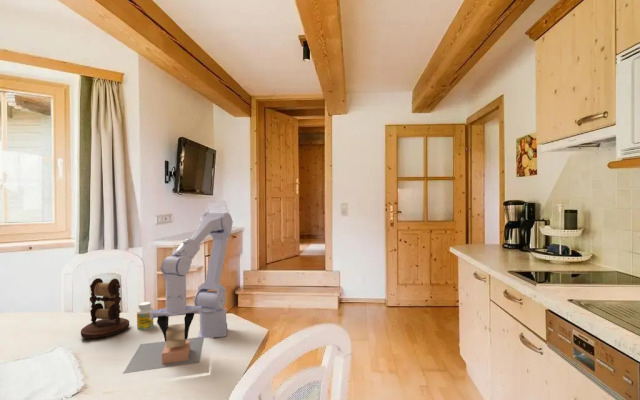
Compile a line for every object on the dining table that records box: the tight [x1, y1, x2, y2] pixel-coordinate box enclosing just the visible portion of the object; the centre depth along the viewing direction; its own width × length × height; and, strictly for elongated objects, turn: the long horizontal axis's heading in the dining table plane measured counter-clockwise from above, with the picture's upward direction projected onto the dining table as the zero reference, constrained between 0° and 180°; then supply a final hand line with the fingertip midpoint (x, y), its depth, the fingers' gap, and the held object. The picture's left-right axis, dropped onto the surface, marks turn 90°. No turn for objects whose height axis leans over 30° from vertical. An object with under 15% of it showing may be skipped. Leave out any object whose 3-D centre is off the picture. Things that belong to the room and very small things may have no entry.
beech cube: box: [166, 322, 186, 348], centre depth 98 cm, size 5×5×5 cm
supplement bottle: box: [136, 301, 154, 331], centre depth 120 cm, size 5×5×10 cm
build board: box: [122, 336, 205, 374], centre depth 100 cm, size 20×18×4 cm
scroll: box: [80, 277, 130, 339], centre depth 116 cm, size 15×15×20 cm
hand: (176, 338), depth 98 cm, fingers closed on beech cube, 5 cm apart
